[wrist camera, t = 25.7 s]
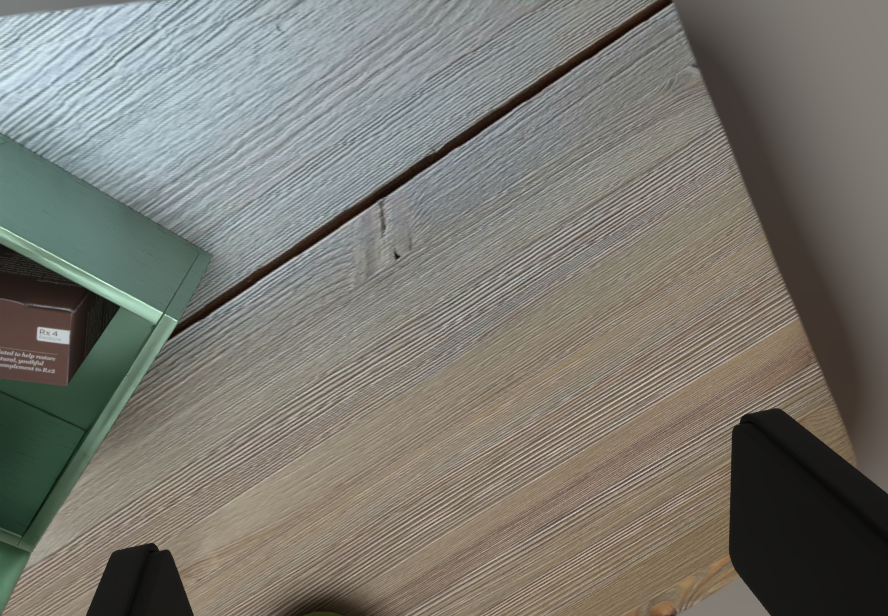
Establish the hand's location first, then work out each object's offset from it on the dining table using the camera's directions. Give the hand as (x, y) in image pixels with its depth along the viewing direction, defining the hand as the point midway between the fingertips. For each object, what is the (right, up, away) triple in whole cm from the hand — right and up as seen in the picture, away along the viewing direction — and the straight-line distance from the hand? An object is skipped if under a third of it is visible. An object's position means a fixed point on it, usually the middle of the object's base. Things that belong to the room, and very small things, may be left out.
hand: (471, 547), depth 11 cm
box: (-23, +7, +32) cm, 40 cm away
